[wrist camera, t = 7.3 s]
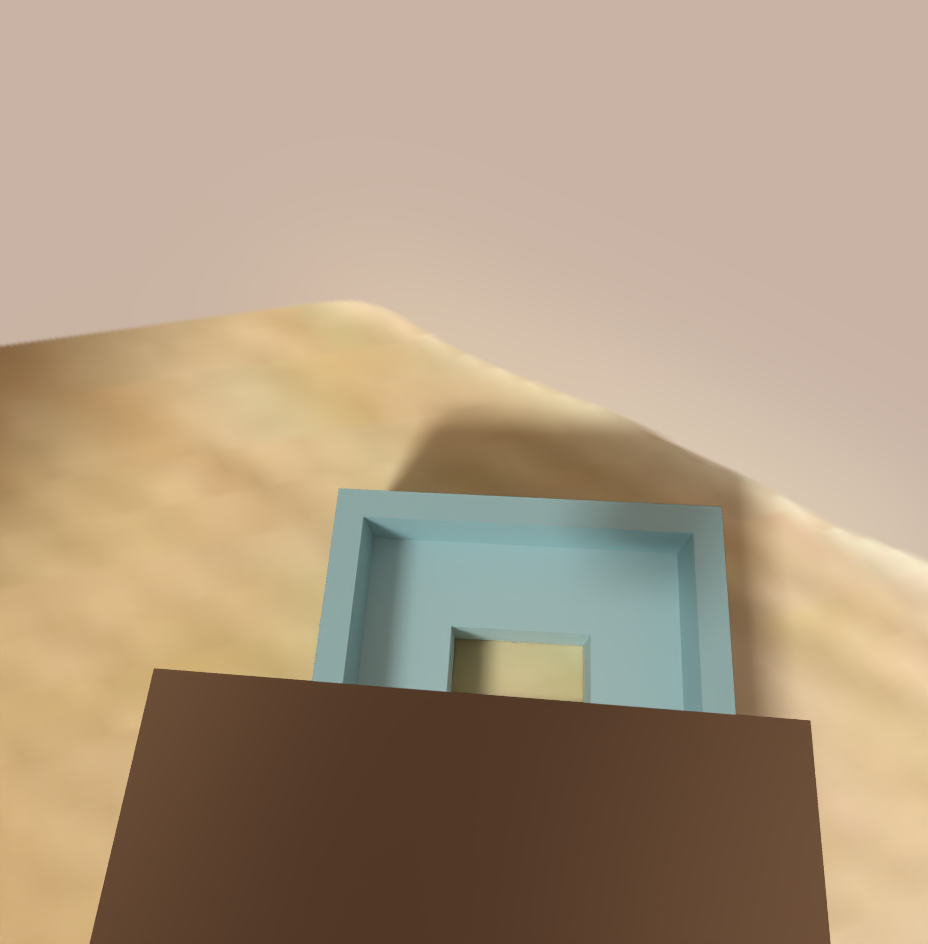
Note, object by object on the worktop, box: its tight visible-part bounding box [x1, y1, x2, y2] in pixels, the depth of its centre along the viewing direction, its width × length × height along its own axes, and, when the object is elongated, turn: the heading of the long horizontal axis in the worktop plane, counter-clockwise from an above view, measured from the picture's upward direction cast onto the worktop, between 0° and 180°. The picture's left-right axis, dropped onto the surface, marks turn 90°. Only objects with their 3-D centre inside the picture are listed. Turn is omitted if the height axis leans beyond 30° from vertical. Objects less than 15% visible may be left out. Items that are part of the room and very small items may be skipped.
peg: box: [90, 668, 830, 944], centre depth 11 cm, size 4×4×16 cm
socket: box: [312, 489, 736, 715], centre depth 31 cm, size 16×16×6 cm
